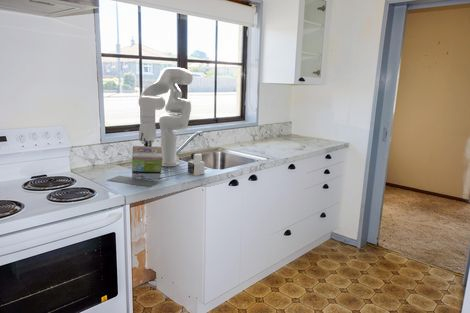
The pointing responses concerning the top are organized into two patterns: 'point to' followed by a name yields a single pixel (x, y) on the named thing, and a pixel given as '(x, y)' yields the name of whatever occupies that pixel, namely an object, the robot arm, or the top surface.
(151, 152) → the tea box
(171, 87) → the robot arm
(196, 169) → the medicine bottle
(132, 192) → the top surface
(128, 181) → the rubber mat
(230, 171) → the top surface
